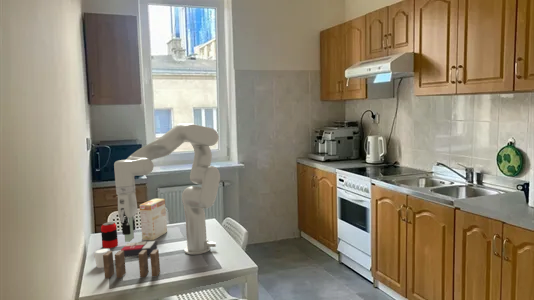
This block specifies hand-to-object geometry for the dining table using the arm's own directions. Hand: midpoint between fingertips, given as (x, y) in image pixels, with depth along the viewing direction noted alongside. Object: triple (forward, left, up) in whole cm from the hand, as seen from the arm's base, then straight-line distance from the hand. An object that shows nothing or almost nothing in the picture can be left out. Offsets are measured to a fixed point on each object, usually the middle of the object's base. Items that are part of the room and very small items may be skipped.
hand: (129, 231), depth 174 cm
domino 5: (-10, 0, -19) cm, 21 cm away
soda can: (+26, -39, -19) cm, 51 cm away
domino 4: (-5, 0, -19) cm, 20 cm away
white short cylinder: (+18, -12, -19) cm, 29 cm away
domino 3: (0, 0, -4) cm, 4 cm away
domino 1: (+10, 0, -19) cm, 21 cm away
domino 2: (+5, 0, -19) cm, 20 cm away
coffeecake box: (+7, -54, -19) cm, 58 cm away
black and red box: (+7, -29, -20) cm, 35 cm away
